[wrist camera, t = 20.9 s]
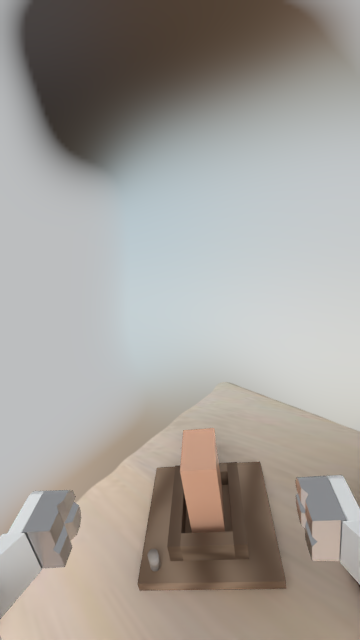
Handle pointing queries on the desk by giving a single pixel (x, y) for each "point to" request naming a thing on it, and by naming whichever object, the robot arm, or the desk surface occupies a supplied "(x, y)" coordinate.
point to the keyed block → (202, 481)
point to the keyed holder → (212, 537)
